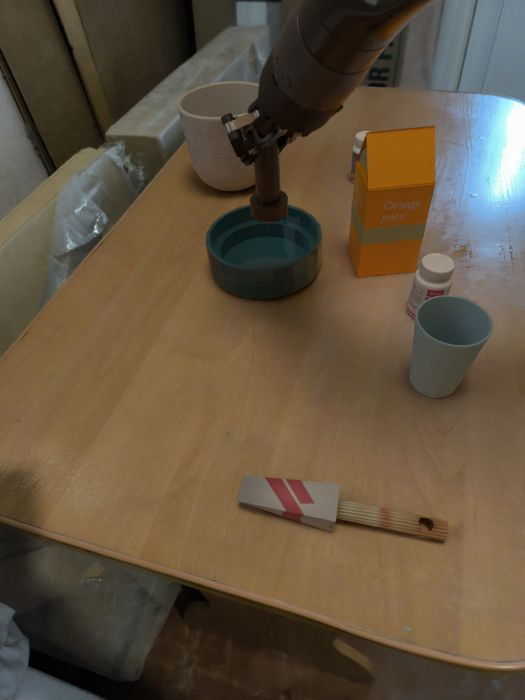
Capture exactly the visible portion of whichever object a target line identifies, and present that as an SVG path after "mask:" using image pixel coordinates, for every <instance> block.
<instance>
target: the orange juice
mask: <svg viewBox="0 0 525 700" xmlns="http://www.w3.org/2000/svg"><path fill="white" fill-rule="evenodd" d="M436 184H437V183H436V125H427V126H417V127H407V128H397V129H386V130H377V131H372V132H367V133H366V136H365V138H364V141H363V144H362V147H361V150H360V152H359V155H358V158H357V161H356V167H355V178H354V183H353V191H352V199H351V207H350V208H351V209H350V224H349V234H348V235H349V236H348V237H349V238H348V247H347V249H348V253H349V256H350V258H351V261H352V264H353V268H354V270H355V274H356V277H357V278H367V277H377V276H384V275H385V276H388V275H397V274H407V273H416V268H417V264H418V260H419V255H420V251H421V247H422V243H423V239H424V235H425V233H426V232H425V231H426V227H427V221H428V218H429V214H430V208H431V205H432V201H433V196H434V191H435V187H436Z"/></svg>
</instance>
